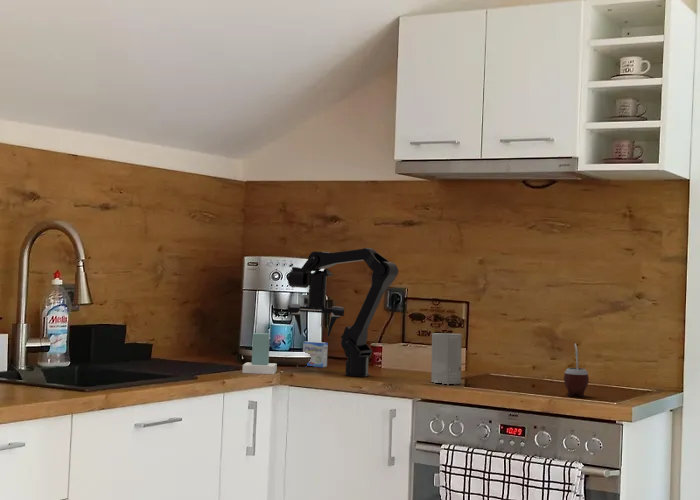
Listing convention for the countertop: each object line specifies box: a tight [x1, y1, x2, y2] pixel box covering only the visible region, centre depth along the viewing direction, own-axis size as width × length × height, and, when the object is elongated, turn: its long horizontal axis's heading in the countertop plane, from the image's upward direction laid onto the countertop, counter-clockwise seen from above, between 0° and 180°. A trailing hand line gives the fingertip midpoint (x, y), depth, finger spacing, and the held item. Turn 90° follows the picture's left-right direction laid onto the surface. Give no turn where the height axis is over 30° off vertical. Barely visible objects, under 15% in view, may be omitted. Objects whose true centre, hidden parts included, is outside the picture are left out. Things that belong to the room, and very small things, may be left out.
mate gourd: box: [563, 343, 589, 399], centre depth 286 cm, size 8×8×15 cm
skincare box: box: [431, 332, 463, 385], centre depth 306 cm, size 8×7×16 cm
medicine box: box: [302, 340, 329, 368], centre depth 347 cm, size 8×4×9 cm, turn 73°
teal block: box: [251, 332, 271, 365], centre depth 320 cm, size 4×5×10 cm
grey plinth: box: [241, 362, 278, 375], centre depth 320 cm, size 10×10×2 cm
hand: (314, 335), depth 328 cm, fingers open, 9 cm apart
